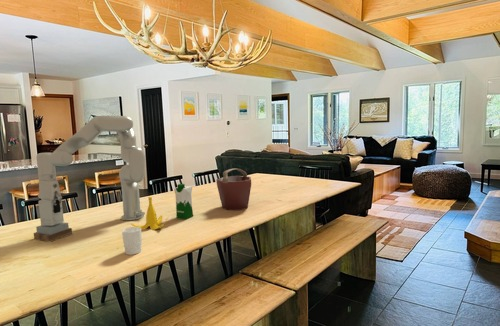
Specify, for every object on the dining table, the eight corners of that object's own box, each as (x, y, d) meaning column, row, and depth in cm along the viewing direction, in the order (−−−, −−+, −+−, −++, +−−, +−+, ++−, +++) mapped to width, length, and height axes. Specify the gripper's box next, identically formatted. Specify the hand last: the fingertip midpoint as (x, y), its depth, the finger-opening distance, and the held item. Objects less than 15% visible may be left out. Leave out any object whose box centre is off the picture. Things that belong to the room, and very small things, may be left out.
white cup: (126, 249, 149) (125, 227, 148) (144, 248, 150) (143, 226, 149) (121, 256, 141) (119, 233, 140) (140, 254, 142) (138, 232, 141)
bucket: (230, 213, 202) (228, 172, 199) (209, 207, 219) (207, 169, 216) (260, 206, 218) (259, 168, 215) (238, 200, 235) (237, 165, 232)
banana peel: (162, 221, 192) (160, 192, 190) (164, 231, 173) (162, 199, 171) (132, 224, 187) (129, 195, 185) (130, 235, 169) (127, 202, 167)
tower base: (72, 234, 173) (71, 228, 172) (50, 241, 162) (49, 235, 162) (56, 231, 178) (56, 226, 177) (34, 238, 167) (33, 233, 166)
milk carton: (174, 218, 195) (172, 184, 193) (183, 214, 203) (181, 182, 201) (186, 220, 192) (184, 185, 189) (195, 215, 200) (193, 182, 197)
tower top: (68, 228, 172) (68, 223, 171) (50, 234, 163) (49, 228, 162) (55, 226, 176) (55, 221, 176) (36, 232, 167) (36, 226, 167)
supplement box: (53, 225, 165) (50, 200, 163) (40, 225, 166) (37, 200, 165) (64, 221, 172) (61, 197, 170) (52, 221, 173) (49, 197, 172)
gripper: (66, 177, 166) (70, 211, 168) (43, 175, 173) (47, 208, 175) (52, 179, 159) (56, 215, 161) (28, 178, 166) (32, 212, 169)
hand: (51, 211), depth 168 cm, fingers closed on supplement box, 8 cm apart
